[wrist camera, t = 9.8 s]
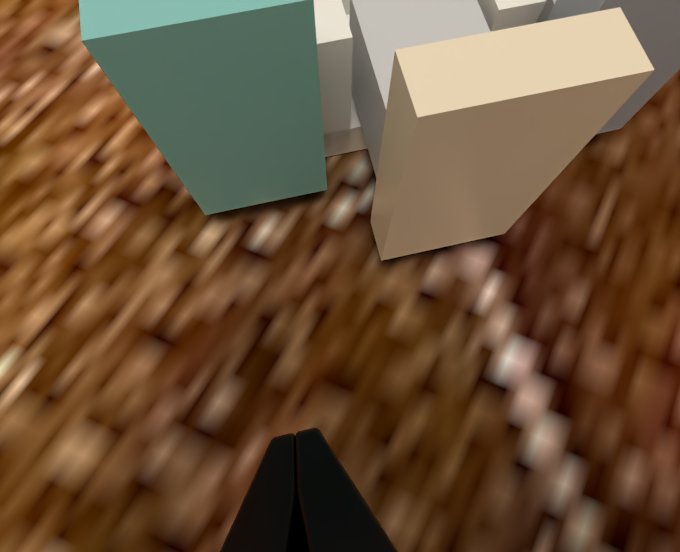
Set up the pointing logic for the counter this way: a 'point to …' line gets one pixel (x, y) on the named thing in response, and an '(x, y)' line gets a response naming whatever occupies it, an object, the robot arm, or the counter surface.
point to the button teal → (219, 91)
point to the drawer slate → (650, 29)
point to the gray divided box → (336, 63)
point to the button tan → (478, 111)
